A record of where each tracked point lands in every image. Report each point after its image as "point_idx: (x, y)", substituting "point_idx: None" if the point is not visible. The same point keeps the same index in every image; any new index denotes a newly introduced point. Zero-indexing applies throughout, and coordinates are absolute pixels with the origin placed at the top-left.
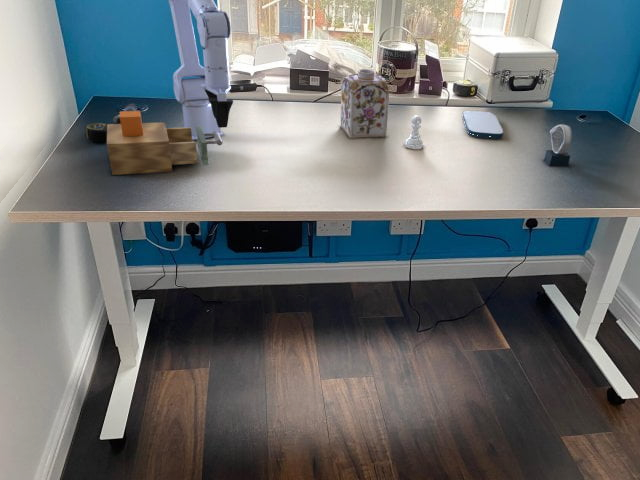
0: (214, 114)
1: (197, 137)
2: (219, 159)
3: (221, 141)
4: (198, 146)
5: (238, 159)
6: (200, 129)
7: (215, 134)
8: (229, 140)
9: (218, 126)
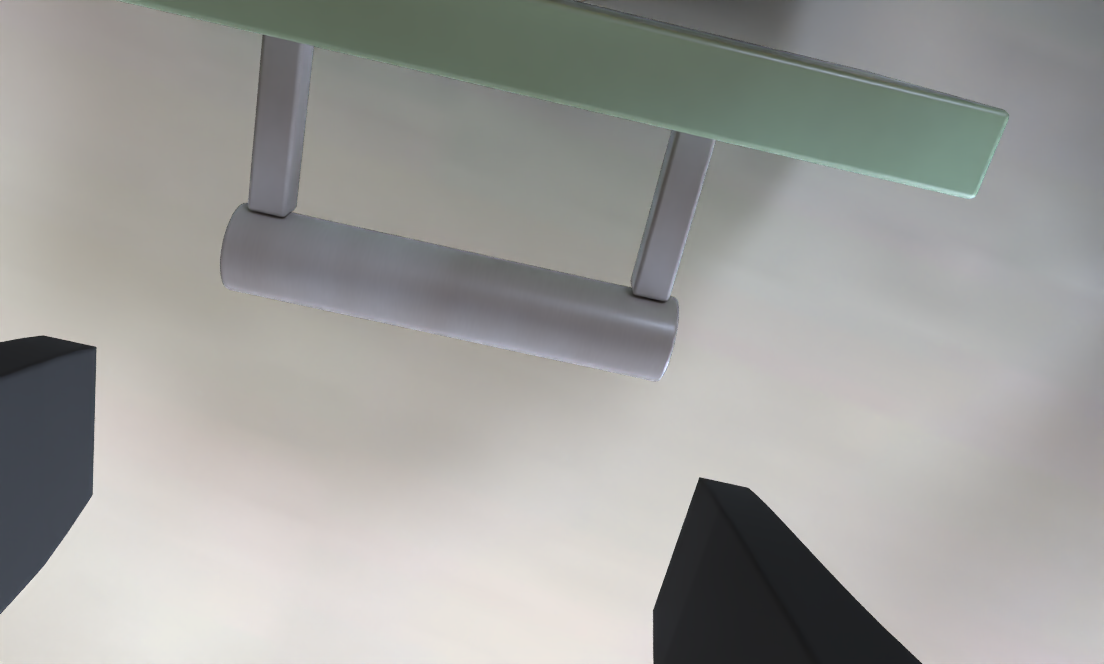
0: (708, 525)
1: (798, 57)
2: (448, 201)
3: (225, 282)
4: (740, 41)
5: (383, 385)
6: (733, 115)
7: (529, 303)
8: (977, 507)
9: (19, 343)
